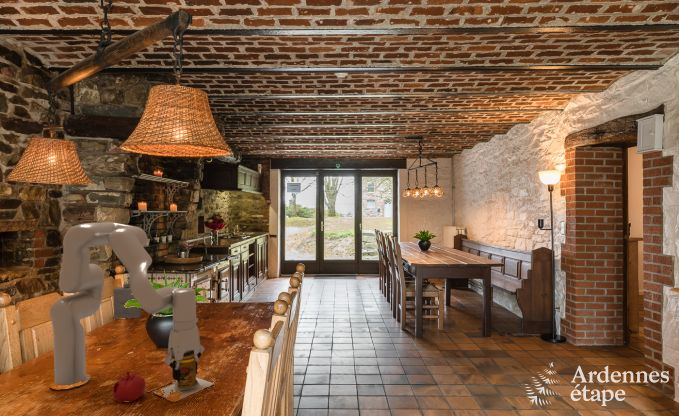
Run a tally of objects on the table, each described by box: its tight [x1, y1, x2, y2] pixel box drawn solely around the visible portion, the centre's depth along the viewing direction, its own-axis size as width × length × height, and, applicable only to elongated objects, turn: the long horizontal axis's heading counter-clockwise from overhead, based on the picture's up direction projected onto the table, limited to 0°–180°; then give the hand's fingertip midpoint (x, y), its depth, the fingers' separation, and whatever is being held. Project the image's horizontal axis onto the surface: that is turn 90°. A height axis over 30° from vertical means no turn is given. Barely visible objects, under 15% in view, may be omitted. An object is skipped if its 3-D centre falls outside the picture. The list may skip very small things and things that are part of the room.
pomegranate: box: [112, 370, 146, 403], centre depth 139 cm, size 10×10×9 cm
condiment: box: [172, 350, 200, 391], centre depth 145 cm, size 7×8×12 cm
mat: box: [153, 377, 215, 398], centre depth 145 cm, size 12×16×1 cm
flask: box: [113, 282, 142, 320], centre depth 241 cm, size 15×6×20 cm, turn 93°
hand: (185, 376), depth 144 cm, fingers closed on condiment, 6 cm apart
